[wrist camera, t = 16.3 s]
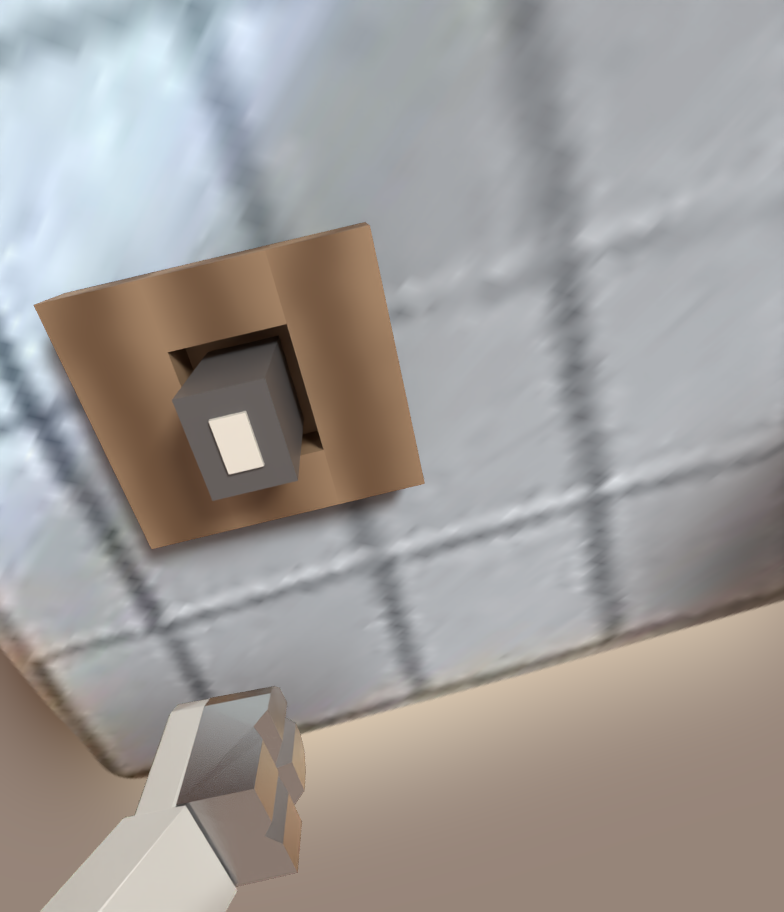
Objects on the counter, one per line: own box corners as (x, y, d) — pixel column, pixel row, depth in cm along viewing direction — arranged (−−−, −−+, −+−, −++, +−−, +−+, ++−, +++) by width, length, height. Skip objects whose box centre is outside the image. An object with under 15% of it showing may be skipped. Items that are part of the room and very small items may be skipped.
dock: (365, 222, 29) (369, 225, 26) (415, 457, 35) (424, 483, 32) (65, 293, 29) (33, 304, 26) (167, 517, 35) (151, 549, 32)
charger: (278, 335, 31) (264, 379, 23) (303, 418, 33) (297, 483, 26) (207, 352, 31) (170, 401, 23) (237, 434, 33) (211, 503, 26)
